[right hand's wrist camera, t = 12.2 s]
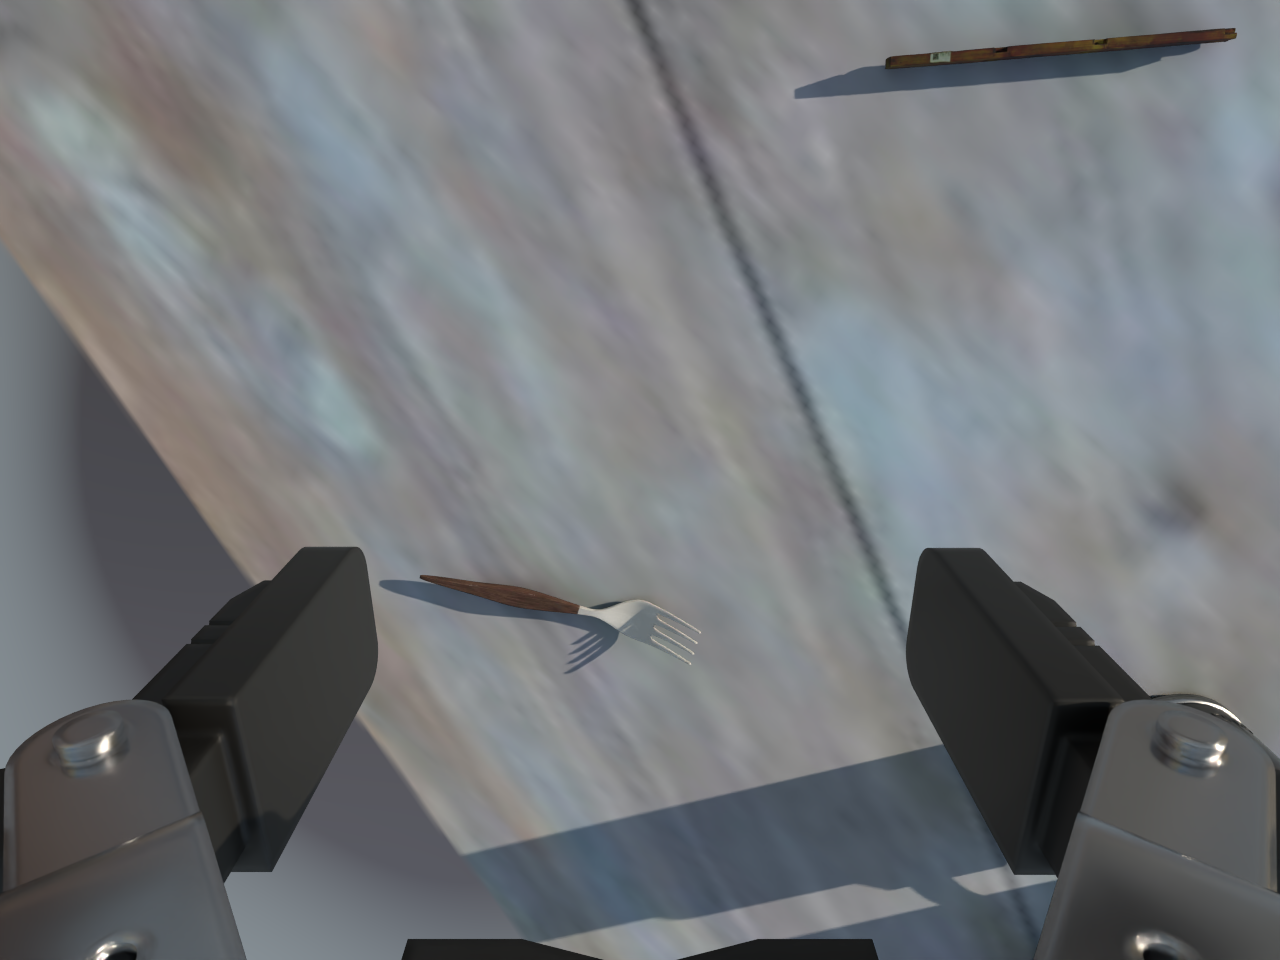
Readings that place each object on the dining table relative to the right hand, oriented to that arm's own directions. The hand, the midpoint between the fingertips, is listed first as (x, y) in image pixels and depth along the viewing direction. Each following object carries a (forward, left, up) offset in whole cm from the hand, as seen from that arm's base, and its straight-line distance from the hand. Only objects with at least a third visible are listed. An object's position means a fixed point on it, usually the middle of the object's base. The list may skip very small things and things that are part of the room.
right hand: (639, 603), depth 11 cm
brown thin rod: (+16, -15, -29) cm, 36 cm away
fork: (-17, 0, -29) cm, 34 cm away
